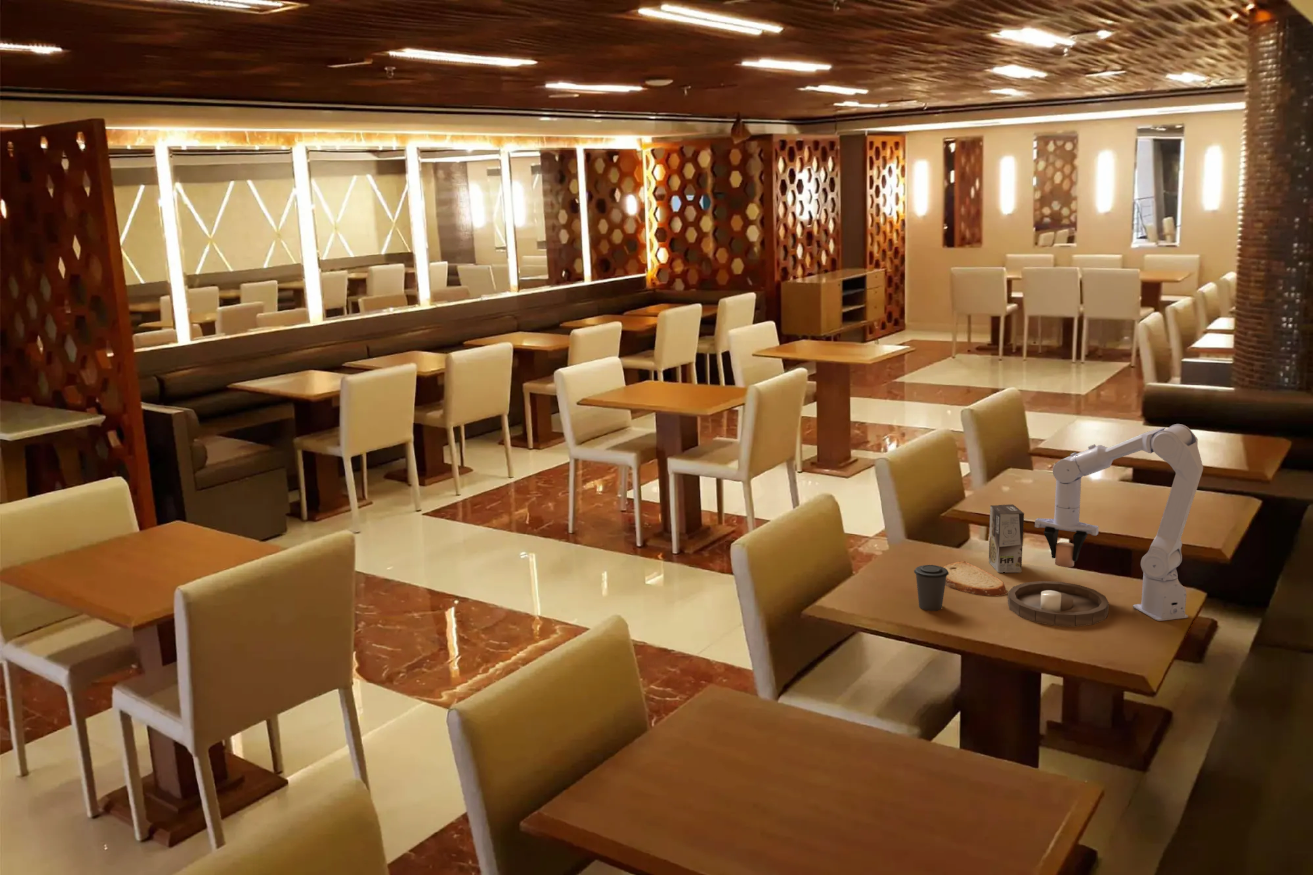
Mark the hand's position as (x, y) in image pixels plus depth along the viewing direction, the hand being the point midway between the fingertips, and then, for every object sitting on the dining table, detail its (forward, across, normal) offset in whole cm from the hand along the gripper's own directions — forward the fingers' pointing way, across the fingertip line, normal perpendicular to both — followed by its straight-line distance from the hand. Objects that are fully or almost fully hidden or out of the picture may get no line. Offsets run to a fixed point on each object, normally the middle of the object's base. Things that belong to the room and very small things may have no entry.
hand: (1064, 558), depth 262 cm
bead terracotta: (+1, 0, 0) cm, 1 cm away
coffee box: (+8, +18, -10) cm, 22 cm away
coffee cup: (+8, +24, +26) cm, 37 cm away
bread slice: (+9, +22, +5) cm, 24 cm away
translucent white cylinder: (+8, -2, +19) cm, 21 cm away
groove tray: (+8, -2, +13) cm, 15 cm away
